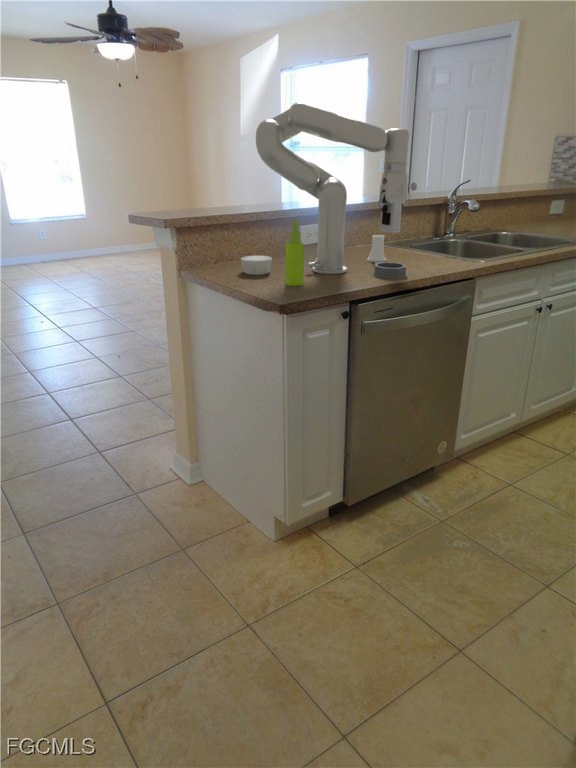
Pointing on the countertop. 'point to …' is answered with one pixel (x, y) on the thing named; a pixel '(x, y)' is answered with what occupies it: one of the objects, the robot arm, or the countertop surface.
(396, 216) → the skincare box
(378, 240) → the salt shaker
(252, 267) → the ramekin
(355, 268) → the countertop surface
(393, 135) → the robot arm
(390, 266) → the cap collar
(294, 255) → the soap dispenser
